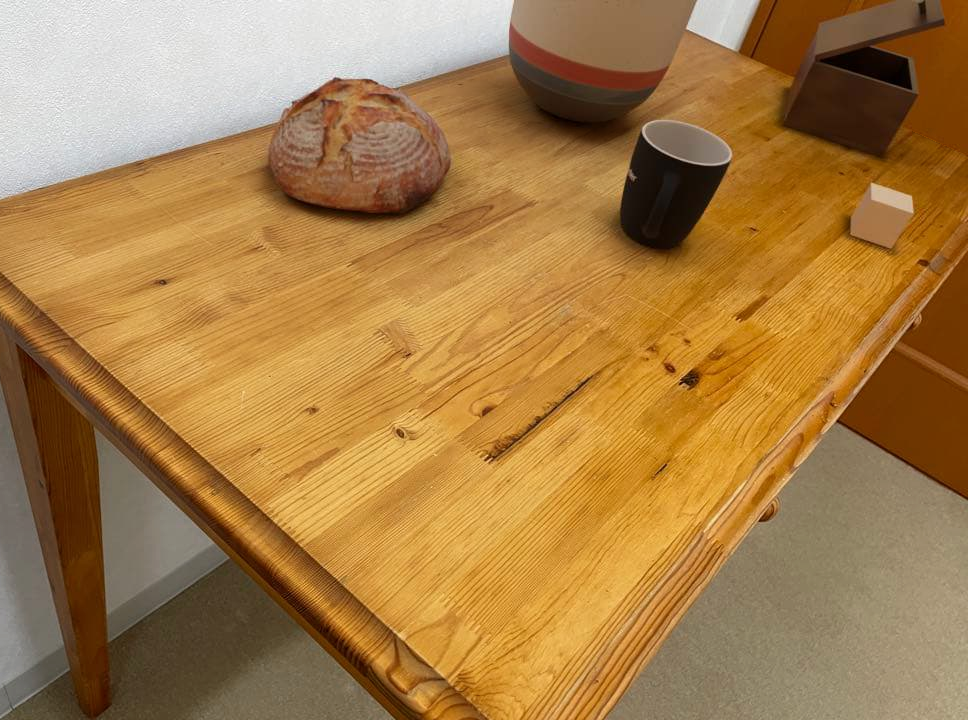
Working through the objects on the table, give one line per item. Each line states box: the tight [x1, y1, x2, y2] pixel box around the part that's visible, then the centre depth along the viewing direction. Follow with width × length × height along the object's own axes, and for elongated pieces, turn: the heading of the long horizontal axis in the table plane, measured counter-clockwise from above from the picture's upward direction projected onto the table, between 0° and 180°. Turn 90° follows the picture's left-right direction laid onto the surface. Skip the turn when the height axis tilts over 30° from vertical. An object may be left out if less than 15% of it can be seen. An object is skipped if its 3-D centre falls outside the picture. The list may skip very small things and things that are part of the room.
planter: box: [508, 0, 698, 123], centre depth 100 cm, size 20×20×21 cm
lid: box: [815, 0, 946, 61], centre depth 111 cm, size 14×16×5 cm
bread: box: [267, 76, 452, 215], centre depth 82 cm, size 16×20×10 cm
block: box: [849, 182, 915, 249], centre depth 95 cm, size 5×5×5 cm
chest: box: [782, 29, 920, 158], centre depth 118 cm, size 14×16×9 cm
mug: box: [619, 119, 733, 250], centre depth 83 cm, size 12×9×10 cm
